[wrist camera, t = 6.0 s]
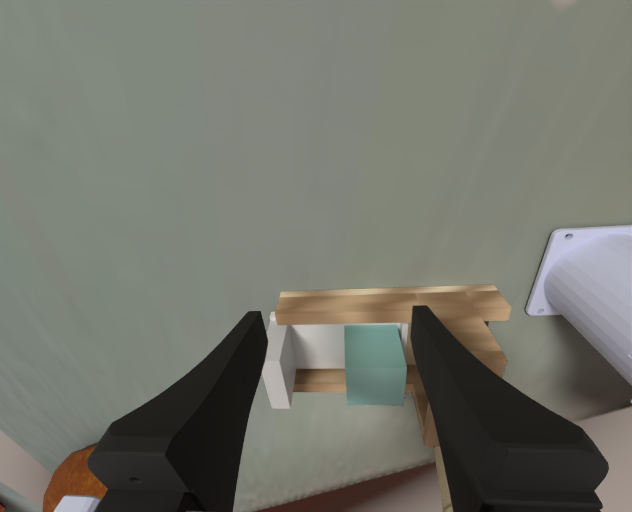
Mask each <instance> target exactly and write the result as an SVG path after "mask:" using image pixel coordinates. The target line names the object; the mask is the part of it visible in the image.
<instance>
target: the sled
mask: <svg viewBox="0 0 632 512" xmlns="http://www.w3.org/2000/svg"><path fill="white" fill-rule="evenodd" d="M270 320H271V321H270V324H269V328H268V331H267V338H268V347H267V353H266V358H265V363H264V366H263V370H262V374H263V378H264V382H265V385H266V389H267V392H268V396H269V399H270V403H271V406H272V408H278V409H290V407H291V401H292V394H293V388H294V381H295V375H296V369H344V368H345V342H344V325H391V324H397V328H398V333H399V337H400V341H401V345H402V349H403V353H404V358H405V359H406V347H407V336H408V323H364V324H316V325H277V322H276V317H275V312H271V315H270Z"/></svg>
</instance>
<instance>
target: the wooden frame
mask: <svg viewBox="0 0 632 512" xmlns="http://www.w3.org/2000/svg"><path fill="white" fill-rule="evenodd" d="M418 305H427V306H428V307H429V308H430V309H431V311H432V312H433V313H434V314H435V315H436V317H437V318H438V319H439V320H440V321H441V322H442V324H443V325H444V326H445V327H446V328H447V329H448V330H449V331H450V332H451V333H452V334H453V335H454V336H455V338H456V339H457V340H458V341H459V342H460V343H461V344H462V345H463V346H464V347H465V348H466V349H468V350H469V351H470V352H471V353H472V354H473V355H474V356H475V357H476V358H477V359H478V360H480V361H481V362H482V363H483V364H484V365H485V366H487V367H488V368H489V369H490V370H492V371H493V372H494V373H495V374H497V375H498V376H499V377H501V378H502V375H503V372H504V369H505V366H506V363H507V358H506V357H505V355H504V353H503V352H502V350H501V349H500V347H499V345H498V344H497V342H496V340H495V339H494V337H493V336H492V334H491V332H490V331H489V329H488V325H489V321H507V320H508V319H509V315H510V312H511V309H512V308H511V307H510V305H509V304H508V303H507V302H506V300H505V299H504V298H503V296H502V295H501V294H500V293H499V291H498V290H497V289H496V287H495V286H494V285H466V286H436V287H406V288H377V289H347V290H317V291H288V292H281V294H280V298H279V301H278V305H277V308H276V312H275V317H276V322H277V325H316V324H364V323H408V336H407V347H406V359H405V362H406V366H407V373H406V384H405V393H412V394H413V398H414V402H415V407H416V411H417V415H418V419H419V423H420V428H421V432H422V436H423V440H424V444H425V446H440V445H439V440H438V436H437V431H436V427H435V423H434V418H433V414H432V411H431V407H430V404H429V401H428V398H427V395H426V392H425V389H424V386H423V383H422V380H421V377H420V374H419V371H418V368H417V365H416V362H415V359H414V354H413V350H412V345H411V340H410V334H411V321H412V308H413V306H418ZM293 392H347V391H346V375H345V368H344V369H296V375H295V381H294V388H293Z"/></svg>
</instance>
